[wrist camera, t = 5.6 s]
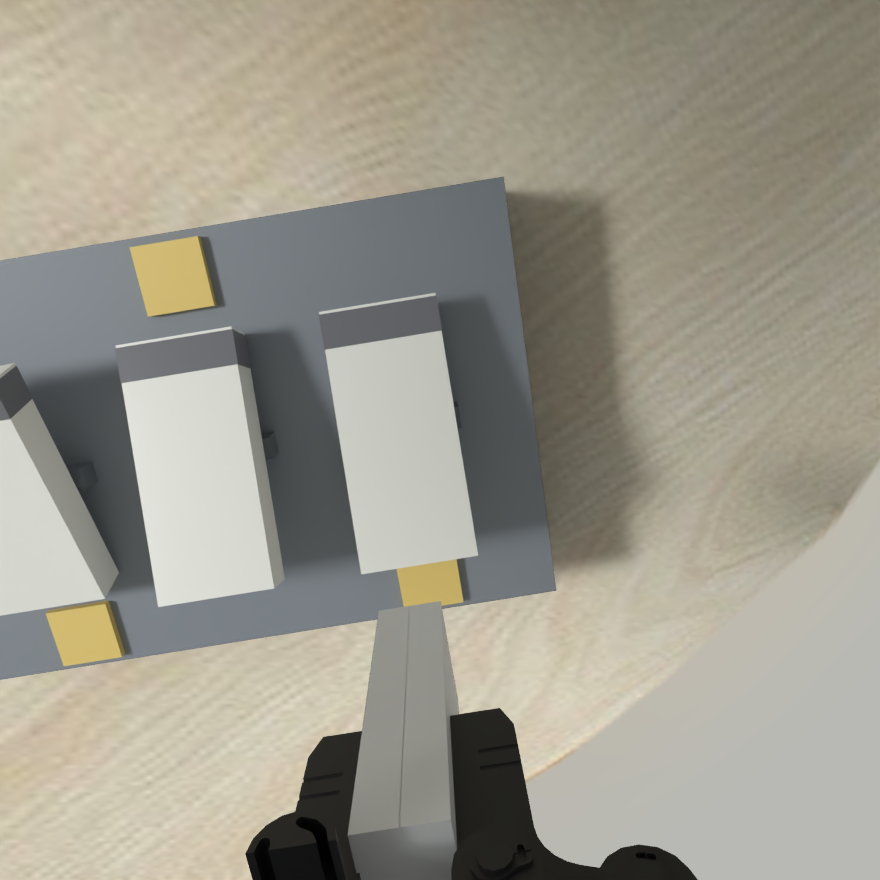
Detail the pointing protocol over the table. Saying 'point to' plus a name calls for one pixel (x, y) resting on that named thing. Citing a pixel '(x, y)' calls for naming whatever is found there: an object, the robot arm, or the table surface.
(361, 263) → the switch unit
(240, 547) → the rocker mid
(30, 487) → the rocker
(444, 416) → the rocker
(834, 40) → the table surface
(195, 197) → the table surface
